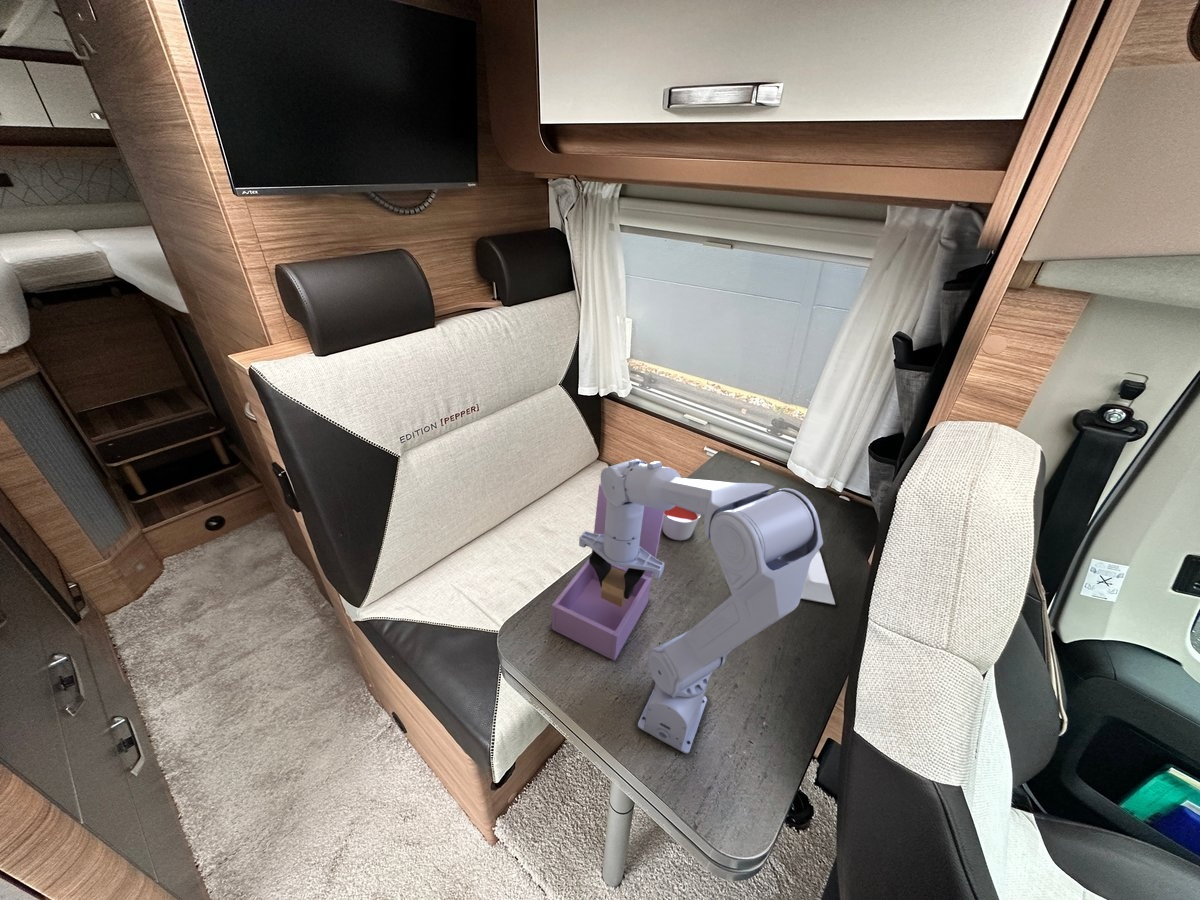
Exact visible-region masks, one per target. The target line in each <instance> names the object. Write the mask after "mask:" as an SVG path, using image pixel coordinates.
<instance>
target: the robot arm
mask: <svg viewBox="0 0 1200 900" xmlns="http://www.w3.org/2000/svg"><path fill="white" fill-rule="evenodd" d="M600 484H601V486H602V490H603V493H604V495H605V497H606V498H607V507H606V520H605V533H604V535H601V534H594V532H590V531H587V530H584V531H583V532H582V533H581V535H580V536H579V538H578V539H579V540H578V546H579V547H581V548H583V549H584V548H586V547H587V548H590V549H591V550H592V549H593V552H592V551H591V554H590V556H589V557H588V559H589V563H590V564H591V565H592V566H593V568H594V569H595V571H596V573H597V576H598V579H599V582H600V586H601V588H602V581H603V580H604V578H605V577H606V576H607V574H608V573H609V571H610V570H611V564H612V565H615V566H619V567H625V568H627V569H628V570H627V571H626V573H625V574H624V579H625V592H624V597H625V598H626V599H629V597H630V596H631V594H632V592H633V589H634V586H635V584H637V582H638V581H639V580H640V579H641V577H642V575H643V574H644V572H645V571H648V572H650V573H653V576H652V577H653V578H654V579H657V580H659V579H660V578H661V576H662V575H663V572H664V570H665V569H664V568H665V562H663V561H662V560H659V559H657V557H656V558H655V557H653V556H652V555H651V554H649V553H648V552H647V551H645V550H644V549H643V548H641V547H640V546H639V543H640V536H641V528H642V520H643V512H644V506H646V507H650V508H653V509H657V510H661V511H667V510H670V509H672V508H674V507H675V506H678V507H681V508H683V509H686V510H689V511H692V512H695V513H697V514H700V515H701V516H703V517H704V521H703V526H704V527H703V529H704V535H705V538H706V539H707V540H710V543H711V547H712V549H713V552H714V554H715V556H716V559H717V561H718V564H719V566H720V569H721V571H722V574H723V576H724V579H725V581H726V584H727V587H728V589H729V591H730V594H731V595H730V596H729V597H727V599H725V600H724V601H723V602H722V603H720V605H718V606H717V607H716V608H714V610H712V611H711V612H710V613H708V614H707V615H706V616H705V617H704V618H703V619H701V620H700V621H699V622H698V623H697V624H696V625H694V626H693V627H692V628H691V629H689V630H688V631H685V632H684V633H682V634H679V635H678V636H676V637H674V638H672V639H670V640H668V641H666V642H664V643H663V644H661V645H658V646H657V647H656V646H654V647H652V648H651V649H649V651H648V654H647V666H648V670H649V673H650V675H651V678H652V679H653V681H654V687H653V689H652V691H651V694H650V696H649V698H648V700H647V703H646V705H645V707H644V708H643V711H642V713H641V716H640V718H639V720H638V722H637V728H638V729H640V730H642V731H643V732H645V733H647V734H649V735H651V736H652V737H654V738H656V739H658V740H660V741H661V742H663V743H664V744H667V745H669V746H670V747H672V748H674V749H676V750H678V751H680V752H681V753H683V754H686V755H687V754H689V753H690V750H691V748H692V745H693V742H694V739H695V736H696V733H697V731H698V727H699V725H700V722H701V719H702V716H703V713H704V710H705V707H706V705H707V701H708V697H706V695H705V694H706V690H707V686H708V683H709V680H710V677H711V676H712V675H713V672H714V670H717V669H721V668H722V667H723V666H724V665H725V664H726V663H725V662H726V659H727V655H728V654H729V653H731V652H732V650H733V651H734V650H735V649H736V648H737V647H739V646H741V645H742V644H743V643H745V642H747V641H748V640H750V639H751V638H753V637H754V636H756V635H758V634H759V633H760V632H762V631H764V630H766V629H767V628H769V627H770V626H771V625H773V624H775V623H776V622H778V621H780V620H781V619H783V618H784V617H786V616H787V615H789V614H790V613H792V612H793V611H795V610H796V609H797V608H798V606H799V604H800V602H801V600H802V599H801V595H802V591H803V588H804V584H805V581H806V577H807V573H808V570H809V566H810V563H811V561H812V559H813V557H814V556H815V555H816V553H817V552H818V550H820V549H821V547H822V546H823V545H824V539H823V535H822V529H821V524H820V520H819V516H818V512H817V510H816V508H815V507H814V505H813V504H812V502H811V500H810V499H809V498H808V497H807V496H806V495H804V494H803V493H802V492H800V491H798V490H796V489H793V488H789V487H784V488H779V489H777V490H775V491H773V492H771V494H770V493H769V492H770V491H771V490H773V489H774V488H776V486H774V485H772V484H769V483H765V482H764V483H763V482H761V483H759V482H758V483H757V482H729V481H720V480H709V479H695V478H685V477H684V478H683V477H682V476H681V475H680V473H679V471H677V470H676V469H674V468H672V467H669V466H663V463H662V461H657V460H655V461H652V462H648V463H647V462H646V461H645V460H642V459H639V458H633V459H630V460H628V461H627V460H626V461H624V462H620V463H617V464H613V465H610V466H607V467H605V468H603V469H602V470H601V473H600Z"/></svg>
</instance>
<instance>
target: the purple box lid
mask: <svg viewBox="0 0 1200 900" xmlns="http://www.w3.org/2000/svg"><path fill="white" fill-rule="evenodd" d="M606 507H607V498H606V497H605V495H604V493H603V490H602V486H601V483H599V484H598V491H597V501H596V511H595V519H594V527H593V528H594V529H593V533H594V534H601V535H604V533H605V520H606ZM664 512H665V511H661V510H657V509H653V508H650V507H646V506H644V512H643V520H642V528H641V536H640V543H639V546H640V547H641V548H643V549H644V550H645V551H647V552H648V553H649V554H651V555H652V556H653V557H655V558H656V559H657V554H658V549H659V543H660V538H661V533H662V523H663V517H664ZM592 552H593V549H591V553H592ZM643 575H644V576H647V577H649V578H651V579H652V577H653V573H650V572H648V571H645V572H644V574H643Z"/></svg>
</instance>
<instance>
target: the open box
mask: <svg viewBox="0 0 1200 900" xmlns="http://www.w3.org/2000/svg"><path fill="white" fill-rule="evenodd" d="M612 567H615V568H617V569H619V570H622V571H624V572H626V571H627V570H628V568H626V567H619V566H615V565H612V564H611V569H612ZM652 580H653V579H652V578H651V577H648V576H646V575H642V577H641V579H640V580H639V581H638V582H637V584H635V586H634V589H633V592H632V594H631V596H630V597H629V599H627V600H626V601H625V603H624V604H623V606H622V607H620V606H617V605H615V604H613V603H611V602H609V601H607V600H604V599H602V598H601V591H602V588H601V586H600V582H599V579H598V576H597V573H596V571H595V569H594V568H593V566H592V565H591V564H590V563H589V558H588V559H587V560H586V561H585V562H584V564H583V565H582V566H581V568H580V569H579V570H578V571H577V573H576V574H575V575H574V577H573V578H571V580H570V581H569V583H568V584H567V585H566V587H564V589H563V590H562V592H561V593H560V594H559V595H558V596H557V598H556V599H555V600H554V601H553V603H552V604H551V630H553V631H554V632H556V633H558V634H560V635H562V636H564V637H566V638H568V639H570V640H572V641H575V642H576V643H578V644H579V645H582V646H584V647H586V648H588V649H590V650H591V651H594V652H596V653H598V654H600V655H602V656H604V657H606V658H608V659H610V660H612V661H614V662H615V661H616V659H617V658H618V656H619V654H620V652H621V651H622V649H623V647H624V645H625V643H626V642H627V640H628V638H629V636H630V635H631V633H632V631H633V630H634V628H635V626H636V624H637V623H638V621H639V619H640V617H641V616H642V614H643V613H644V610H645V608H646V606H647V605H648V603H649V600H650V599H649V598H650V591H651V586H652Z"/></svg>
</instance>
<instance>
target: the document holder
mask: <svg viewBox="0 0 1200 900" xmlns="http://www.w3.org/2000/svg"><path fill="white" fill-rule="evenodd" d="M800 600H806V601H811V602H816V603H821V604H822V603H823V604H828V605H832V606H833V605H834V606H836V602H835V598H834V594H833V592H832V588H831V585H830V581H829V578H828V574H827V572H826V568H825V564H824V561H823V558H822V554H821V550H820V549H819V550H818V552H817V553H816V555H815V556H814V557H813V559H812V561H811V563H810V566H809V570H808V573H807V577H806V581H805V584H804V588H803V591H802V595H801V599H800Z"/></svg>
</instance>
